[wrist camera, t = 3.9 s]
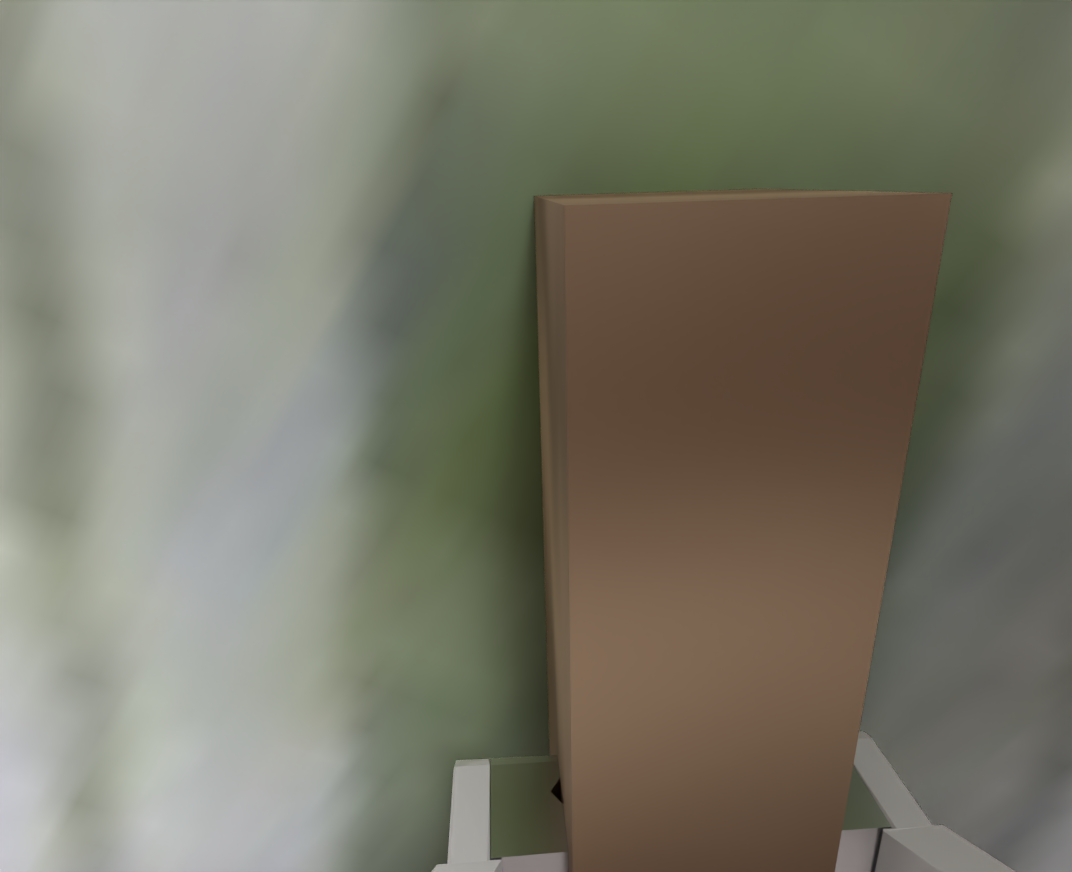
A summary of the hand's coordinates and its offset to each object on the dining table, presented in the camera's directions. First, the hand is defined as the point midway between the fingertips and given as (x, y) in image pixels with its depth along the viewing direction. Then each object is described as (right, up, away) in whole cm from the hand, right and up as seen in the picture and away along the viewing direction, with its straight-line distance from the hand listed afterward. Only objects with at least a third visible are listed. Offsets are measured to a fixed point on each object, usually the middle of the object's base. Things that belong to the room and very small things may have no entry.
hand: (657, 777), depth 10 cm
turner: (0, -1, +2) cm, 2 cm away
